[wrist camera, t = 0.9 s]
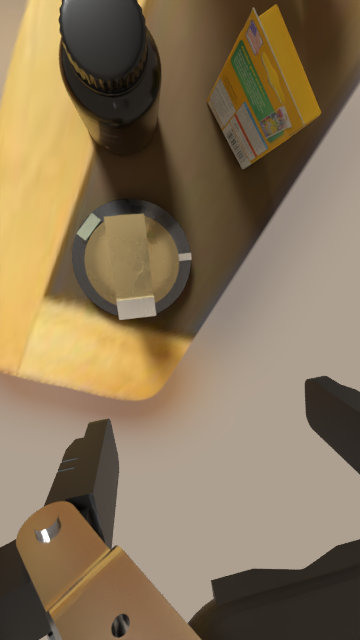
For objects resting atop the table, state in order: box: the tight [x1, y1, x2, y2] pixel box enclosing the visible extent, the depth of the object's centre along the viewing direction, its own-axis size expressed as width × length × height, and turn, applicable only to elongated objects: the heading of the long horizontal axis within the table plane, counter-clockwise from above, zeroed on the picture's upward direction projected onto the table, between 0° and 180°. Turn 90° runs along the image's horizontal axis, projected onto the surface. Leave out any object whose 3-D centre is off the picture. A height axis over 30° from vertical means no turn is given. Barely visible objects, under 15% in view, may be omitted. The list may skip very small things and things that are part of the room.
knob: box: [85, 214, 179, 320], centre depth 25 cm, size 9×9×7 cm
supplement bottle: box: [59, 0, 161, 156], centre depth 21 cm, size 7×7×12 cm
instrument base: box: [72, 199, 192, 318], centre depth 29 cm, size 12×12×3 cm
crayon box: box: [207, 4, 321, 169], centre depth 23 cm, size 7×3×12 cm, turn 34°
